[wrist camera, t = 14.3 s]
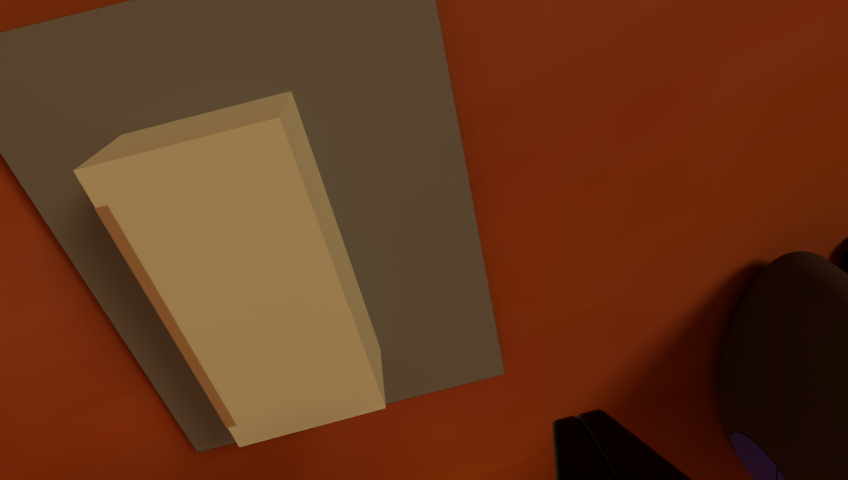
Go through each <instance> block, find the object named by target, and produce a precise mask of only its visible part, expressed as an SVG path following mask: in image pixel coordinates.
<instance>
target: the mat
mask: <svg viewBox="0 0 848 480" xmlns="http://www.w3.org/2000/svg"><path fill="white" fill-rule="evenodd" d="M289 91H291V92H292V95H293V98H294V100H295V103H296V106H297V109H298V112H299V115H300V118H301V121H302V124H303V126H304V129H305V132H306V135H307V138H308V141H309V144H310V147H311V150H312V153H313V155H314V158H315V161H316V164H317V167H318V170H319V173H320V176H321V179H322V181H323V184H324V187H325V190H326V193H327V196H328V199H329V202H330V205H331V208H332V210H333V213H334V216H335V219H336V222H337V225H338V228H339V231H340V234H341V237H342V239H343V242H344V245H345V248H346V251H347V254H348V257H349V260H350V263H351V265H352V268H353V271H354V274H355V277H356V280H357V283H358V286H359V289H360V292H361V294H362V297H363V300H364V303H365V306H366V309H367V312H368V315H369V318H370V320H371V323H372V326H373V329H374V332H375V335H376V338H377V341H378V344H379V347H380V350H381V361H382V372H383V383H384V393H385V404H389V403H393V402H397V401H400V400H404V399H408V398H412V397H416V396H420V395H424V394H428V393H432V392H436V391H440V390H444V389H447V388H451V387H455V386H459V385H463V384H467V383H471V382H475V381H479V380H483V379H487V378H490V377H494V376H498V375H502V374H505V372H504V367H503V362H502V356H501V351H500V345H499V340H498V335H497V329H496V324H495V318H494V313H493V308H492V302H491V297H490V291H489V286H488V281H487V275H486V270H485V264H484V259H483V254H482V248H481V243H480V237H479V232H478V227H477V221H476V216H475V210H474V205H473V200H472V194H471V189H470V183H469V178H468V173H467V167H466V162H465V156H464V151H463V146H462V140H461V135H460V129H459V124H458V119H457V113H456V108H455V102H454V97H453V92H452V86H451V81H450V75H449V70H448V65H447V59H446V54H445V48H444V43H443V38H442V32H441V27H440V21H439V16H438V11H437V5H436V0H131V1H127V2H123V3H118V4H114V5H110V6H106V7H102V8H98V9H94V10H90V11H86V12H82V13H78V14H74V15H70V16H66V17H62V18H58V19H54V20H50V21H46V22H42V23H38V24H34V25H30V26H26V27H22V28H17V29H13V30H9V31H5V32H1V33H0V153H1V155H2V157H3V158H4V160H5V161H6V163H7V164H8V166H9V167H10V169H11V170H12V172H13V173H14V175H15V176H16V178H17V179H18V181H19V182H20V184H21V185H22V187H23V188H24V190H25V191H26V193H27V194H28V196H29V197H30V199H31V201H32V202H33V204H34V205H35V207H36V208H37V210H38V211H39V213H40V214H41V216H42V217H43V219H44V220H45V222H46V223H47V225H48V226H49V228H50V229H51V231H52V232H53V234H54V235H55V237H56V238H57V240H58V242H59V243H60V245H61V246H62V248H63V249H64V251H65V252H66V254H67V255H68V257H69V258H70V260H71V261H72V263H73V264H74V266H75V267H76V269H77V270H78V272H79V273H80V275H81V276H82V278H83V279H84V281H85V283H86V284H87V286H88V287H89V289H90V290H91V292H92V293H93V295H94V296H95V298H96V299H97V301H98V302H99V304H100V305H101V307H102V308H103V310H104V311H105V313H106V314H107V316H108V317H109V319H110V320H111V322H112V323H113V325H114V327H115V328H116V330H117V331H118V333H119V334H120V336H121V337H122V339H123V340H124V342H125V343H126V345H127V346H128V348H129V349H130V351H131V352H132V354H133V355H134V357H135V358H136V360H137V361H138V363H139V364H140V366H141V368H142V369H143V371H144V372H145V374H146V375H147V377H148V378H149V380H150V381H151V383H152V384H153V386H154V387H155V389H156V390H157V392H158V393H159V395H160V396H161V398H162V399H163V401H164V402H165V404H166V405H167V407H168V408H169V410H170V412H171V413H172V415H173V416H174V418H175V419H176V421H177V422H178V424H179V425H180V427H181V428H182V430H183V431H184V433H185V434H186V436H187V437H188V439H189V440H190V442H191V443H192V445H193V446H194V448H195V449H196V451H197V452H201V451H205V450H209V449H213V448H216V447H220V446H224V445H228V444H232V443H236V441H235V439H234V438H233V436H232V434H231V433H230V431H229V429H228V428H226V426H225V424H224V423H223V421H222V419H221V418H220V416H219V414H218V413H217V411H216V409H215V408H214V406H213V404H212V403H211V401H210V399H209V398H208V396H207V394H206V393H205V391H204V390H203V388H202V386H201V385H200V383H199V381H198V380H197V378H196V376H195V375H194V373H193V371H192V370H191V368H190V366H189V365H188V363H187V361H186V360H185V358H184V356H183V355H182V353H181V351H180V350H179V348H178V346H177V345H176V343H175V341H174V340H173V338H172V336H171V335H170V333H169V331H168V330H167V328H166V326H165V325H164V323H163V322H162V320H161V318H160V317H159V315H158V313H157V312H156V310H155V308H154V307H153V305H152V303H151V302H150V300H149V298H148V297H147V295H146V293H145V292H144V290H143V288H142V287H141V285H140V283H139V282H138V280H137V278H136V277H135V275H134V273H133V272H132V270H131V268H130V267H129V265H128V263H127V262H126V260H125V258H124V257H123V255H122V253H121V252H120V250H119V249H118V247H117V245H116V244H115V242H114V240H113V239H112V237H111V235H110V234H109V232H108V230H107V229H106V227H105V225H104V224H103V222H102V220H101V219H100V217H99V215H98V214H97V212H96V210H95V206H94V205H93V203H92V201H91V200H90V198H89V196H88V195H87V193H86V191H85V190H84V188H83V186H82V185H81V183H80V181H79V180H78V178H77V176H76V175H75V173H74V171H73V170H74V169H76V168H77V167H79V166H80V165H81V164H83V163H84V162H85V161H87V160H88V159H89V158H91V157H92V156H93V155H95V154H96V153H98V152H99V151H100V150H102V149H103V148H104V147H106V146H107V145H108V144H110V143H111V142H112V141H114V140H115V139H117V138H118V137H119V136H121V135H122V134H126V133H130V132H134V131H138V130H141V129H145V128H149V127H153V126H157V125H161V124H165V123H169V122H172V121H176V120H180V119H184V118H188V117H192V116H196V115H200V114H204V113H207V112H211V111H215V110H219V109H223V108H227V107H231V106H235V105H239V104H242V103H246V102H250V101H254V100H258V99H262V98H266V97H270V96H274V95H277V94H281V93H285V92H289Z"/></svg>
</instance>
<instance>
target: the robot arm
mask: <svg viewBox="0 0 848 480" xmlns="http://www.w3.org/2000/svg"><path fill="white" fill-rule="evenodd" d="M844 272H846V273H847V274H848V254H847V259H846V263H845V267H844ZM553 440H554V454H555V469H556V480H691V479H690V478H689V477H688V476H686V475H685V474H684V473H682V472H681V471H680V470H679V469H677V468H676V467H675V466H674V465H672V464H671V463H670V462H668V461H667V460H666V459H665V458H663V457H662V456H661V455H659V454H658V453H657V452H656V451H654V450H653V449H652V448H650V447H649V446H648V445H647V444H645V443H644V442H643V441H641V440H640V439H639V438H638V437H636V436H635V435H634V434H632V433H631V432H630V431H629V430H627V429H626V428H625V427H623V426H622V425H621V424H620V423H618V422H617V421H616V420H615V419H613V418H612V417H611V416H609V415H608V414H607V413H606V412H604V411H602V410H599V409H598V410H593V411H589V412H585V413H581V414H579V415H578V416H577V418H576V417H575V416H570V417H566V418H562V419H558V420H555V421H554V422H553Z"/></svg>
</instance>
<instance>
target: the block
mask: <svg viewBox="0 0 848 480" xmlns="http://www.w3.org/2000/svg"><path fill="white" fill-rule="evenodd" d="M73 171H74V173H75V175H76V176H77V178H78V180H79V181H80V183H81V185H82V186H83V188H84V190H85V191H86V193H87V195H88V196H89V198H90V200H91V201H92V203H93V205H94V206H95V210H96V212H97V214H98V215H99V217H100V219H101V220H102V222H103V224H104V225H105V227H106V229H107V230H108V232H109V234H110V235H111V237H112V239H113V240H114V242H115V244H116V245H117V247H118V249H119V250H120V252H121V253H122V255H123V257H124V258H125V260H126V262H127V263H128V265H129V267H130V268H131V270H132V272H133V273H134V275H135V277H136V278H137V280H138V282H139V283H140V285H141V287H142V288H143V290H144V292H145V293H146V295H147V297H148V298H149V300H150V302H151V303H152V305H153V307H154V308H155V310H156V312H157V313H158V315H159V317H160V318H161V320H162V322H163V323H164V325H165V326H166V328H167V330H168V331H169V333H170V335H171V336H172V338H173V340H174V341H175V343H176V345H177V346H178V348H179V350H180V351H181V353H182V355H183V356H184V358H185V360H186V361H187V363H188V365H189V366H190V368H191V370H192V371H193V373H194V375H195V376H196V378H197V380H198V381H199V383H200V385H201V386H202V388H203V390H204V391H205V393H206V394H207V396H208V398H209V399H210V401H211V403H212V404H213V406H214V408H215V409H216V411H217V413H218V414H219V416H220V418H221V419H222V421H223V423H224V424H225V426H226V428H228V429H229V431H230V433H231V434H232V436H233V438H234V439H235V441H236V443H237V444H238V446H239V447H242V446H246V445H250V444H254V443H257V442H261V441H265V440H269V439H272V438H276V437H280V436H283V435H287V434H291V433H295V432H298V431H302V430H306V429H310V428H313V427H317V426H321V425H324V424H328V423H332V422H336V421H339V420H343V419H347V418H351V417H354V416H358V415H362V414H366V413H369V412H373V411H377V410H380V409H384V408H386V404H385V393H384V383H383V372H382V361H381V350H380V347H379V344H378V341H377V338H376V335H375V332H374V329H373V326H372V323H371V320H370V318H369V315H368V312H367V309H366V306H365V303H364V300H363V297H362V294H361V292H360V289H359V286H358V283H357V280H356V277H355V274H354V271H353V268H352V265H351V263H350V260H349V257H348V254H347V251H346V248H345V245H344V242H343V239H342V237H341V234H340V231H339V228H338V225H337V222H336V219H335V216H334V213H333V210H332V208H331V205H330V202H329V199H328V196H327V193H326V190H325V187H324V184H323V181H322V179H321V176H320V173H319V170H318V167H317V164H316V161H315V158H314V155H313V153H312V150H311V147H310V144H309V141H308V138H307V135H306V132H305V129H304V126H303V124H302V121H301V118H300V115H299V112H298V109H297V106H296V103H295V100H294V98H293V95H292V92H291V91H289V92H285V93H281V94H277V95H274V96H270V97H266V98H262V99H258V100H254V101H250V102H246V103H242V104H239V105H235V106H231V107H227V108H223V109H219V110H215V111H211V112H207V113H204V114H200V115H196V116H192V117H188V118H184V119H180V120H176V121H172V122H169V123H165V124H161V125H157V126H153V127H149V128H145V129H141V130H138V131H134V132H130V133H126V134H122V135H121V136H119V137H118V138H117V139H115V140H114V141H112V142H111V143H110V144H108V145H107V146H106V147H104V148H103V149H102V150H100V151H99V152H98V153H96V154H95V155H93V156H92V157H91V158H89V159H88V160H87V161H85V162H84V163H83V164H81V165H80V166H79V167H77V168H76V169H74V170H73Z"/></svg>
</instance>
